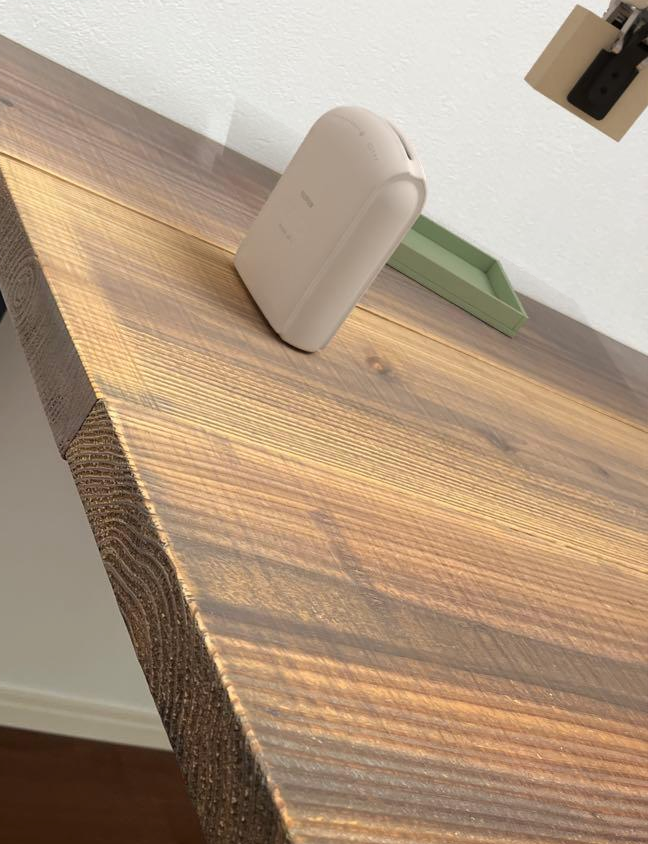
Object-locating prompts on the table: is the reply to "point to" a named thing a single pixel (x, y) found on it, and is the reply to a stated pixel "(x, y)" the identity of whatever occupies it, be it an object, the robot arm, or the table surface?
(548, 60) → the block
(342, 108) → the photo printer
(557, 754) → the table surface
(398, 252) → the tray
